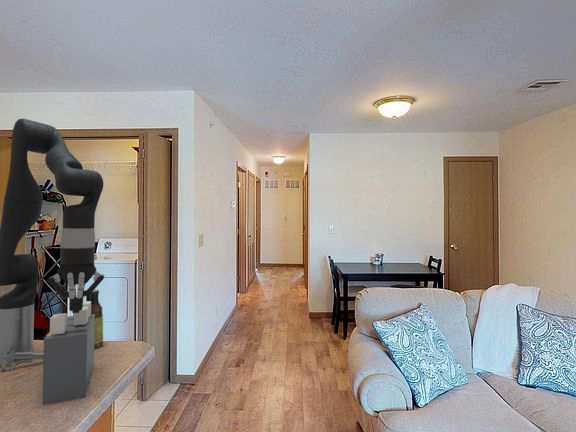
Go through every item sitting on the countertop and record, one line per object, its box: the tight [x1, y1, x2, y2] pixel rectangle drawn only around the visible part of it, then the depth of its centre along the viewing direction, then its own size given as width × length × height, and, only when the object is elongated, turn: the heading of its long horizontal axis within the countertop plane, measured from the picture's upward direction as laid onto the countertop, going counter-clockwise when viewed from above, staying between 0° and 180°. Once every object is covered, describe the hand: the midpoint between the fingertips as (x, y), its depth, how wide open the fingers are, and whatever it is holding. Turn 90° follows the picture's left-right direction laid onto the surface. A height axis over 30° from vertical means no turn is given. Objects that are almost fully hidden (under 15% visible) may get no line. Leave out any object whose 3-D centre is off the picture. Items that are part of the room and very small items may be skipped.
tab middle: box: [73, 306, 89, 325], centre depth 91 cm, size 3×4×4 cm
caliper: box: [1, 349, 44, 372], centre depth 102 cm, size 20×1×6 cm, turn 127°
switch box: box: [41, 314, 95, 406], centre depth 90 cm, size 9×19×16 cm, turn 25°
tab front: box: [49, 312, 68, 335], centre depth 84 cm, size 3×4×4 cm
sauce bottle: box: [85, 288, 104, 350], centre depth 115 cm, size 7×6×20 cm
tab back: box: [83, 300, 91, 318], centre depth 96 cm, size 3×4×4 cm
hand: (75, 312), depth 85 cm, fingers closed
